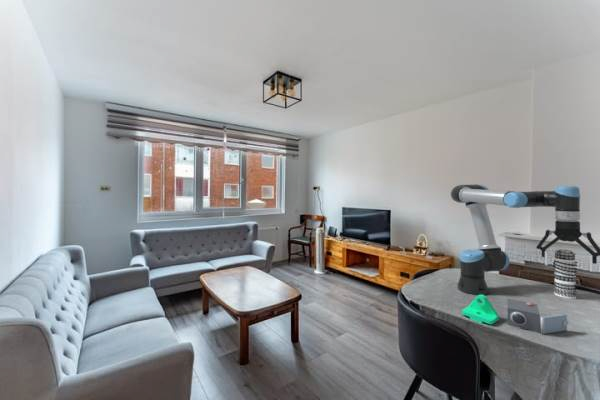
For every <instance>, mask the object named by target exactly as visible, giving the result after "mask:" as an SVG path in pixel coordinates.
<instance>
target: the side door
mask: <svg viewBox="0 0 600 400" xmlns="http://www.w3.org/2000/svg"><path fill="white" fill-rule="evenodd" d="M567 319H568V316H567V314H566V313H564V314H563V313H562V314H555V315H546V316H540V334H542V335H545V334H552V333H557V332H564V331H565V332H567V331H568V326H569V320H567Z"/></svg>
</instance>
